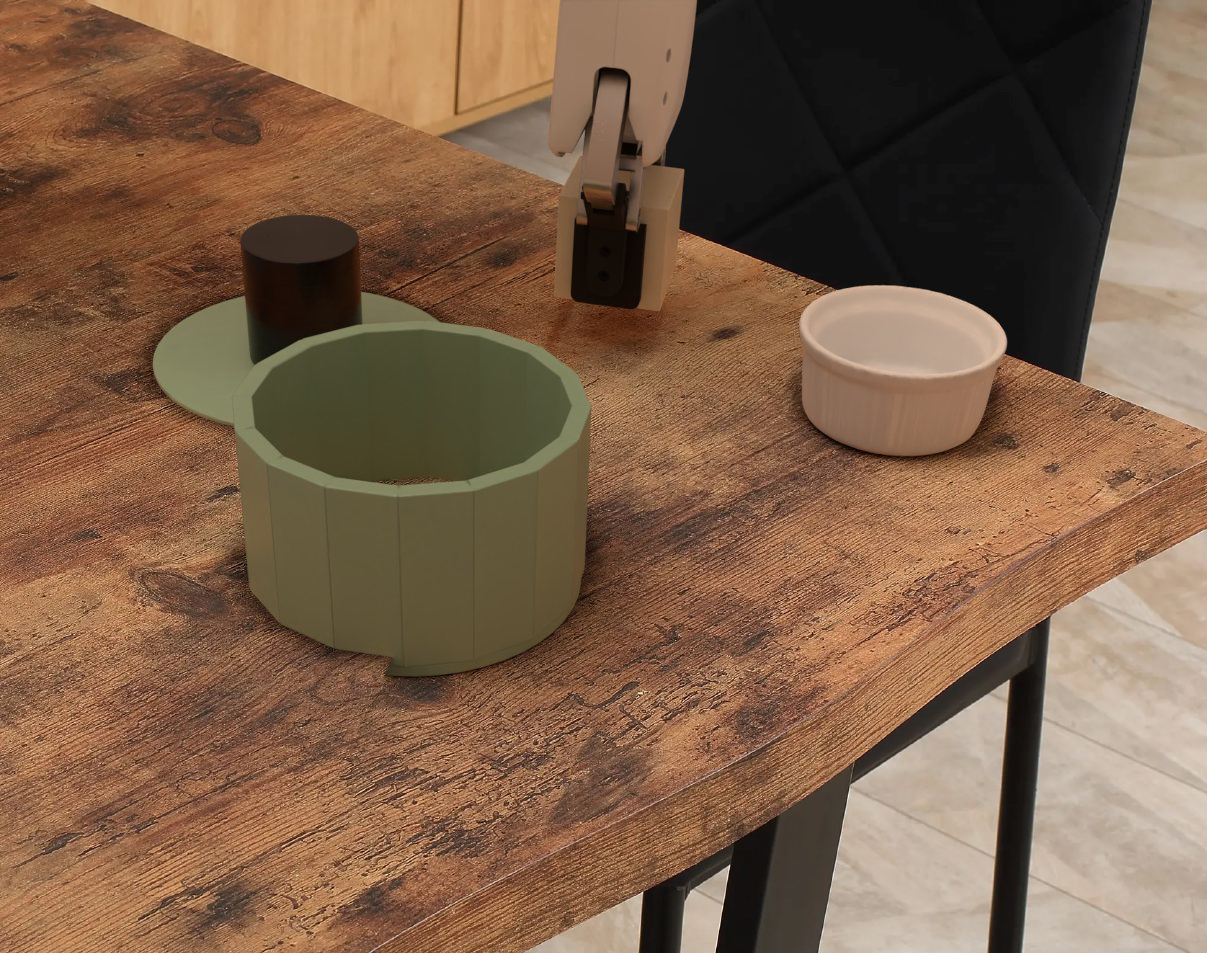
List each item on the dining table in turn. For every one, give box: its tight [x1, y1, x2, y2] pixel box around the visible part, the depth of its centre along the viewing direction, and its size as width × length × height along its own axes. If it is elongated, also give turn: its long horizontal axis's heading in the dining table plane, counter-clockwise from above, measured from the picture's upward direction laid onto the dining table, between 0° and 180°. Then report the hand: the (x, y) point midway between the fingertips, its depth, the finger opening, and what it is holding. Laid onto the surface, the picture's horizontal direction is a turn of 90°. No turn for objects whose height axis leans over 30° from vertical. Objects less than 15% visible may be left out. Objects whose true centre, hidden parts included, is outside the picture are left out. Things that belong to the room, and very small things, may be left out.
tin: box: [232, 321, 593, 678], centre depth 63 cm, size 12×12×8 cm
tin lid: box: [152, 214, 440, 428], centre depth 76 cm, size 13×13×7 cm
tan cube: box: [553, 155, 685, 312], centre depth 80 cm, size 5×5×5 cm
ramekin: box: [798, 284, 1008, 457], centre depth 75 cm, size 9×9×4 cm
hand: (616, 273), depth 82 cm, fingers closed on tan cube, 5 cm apart
